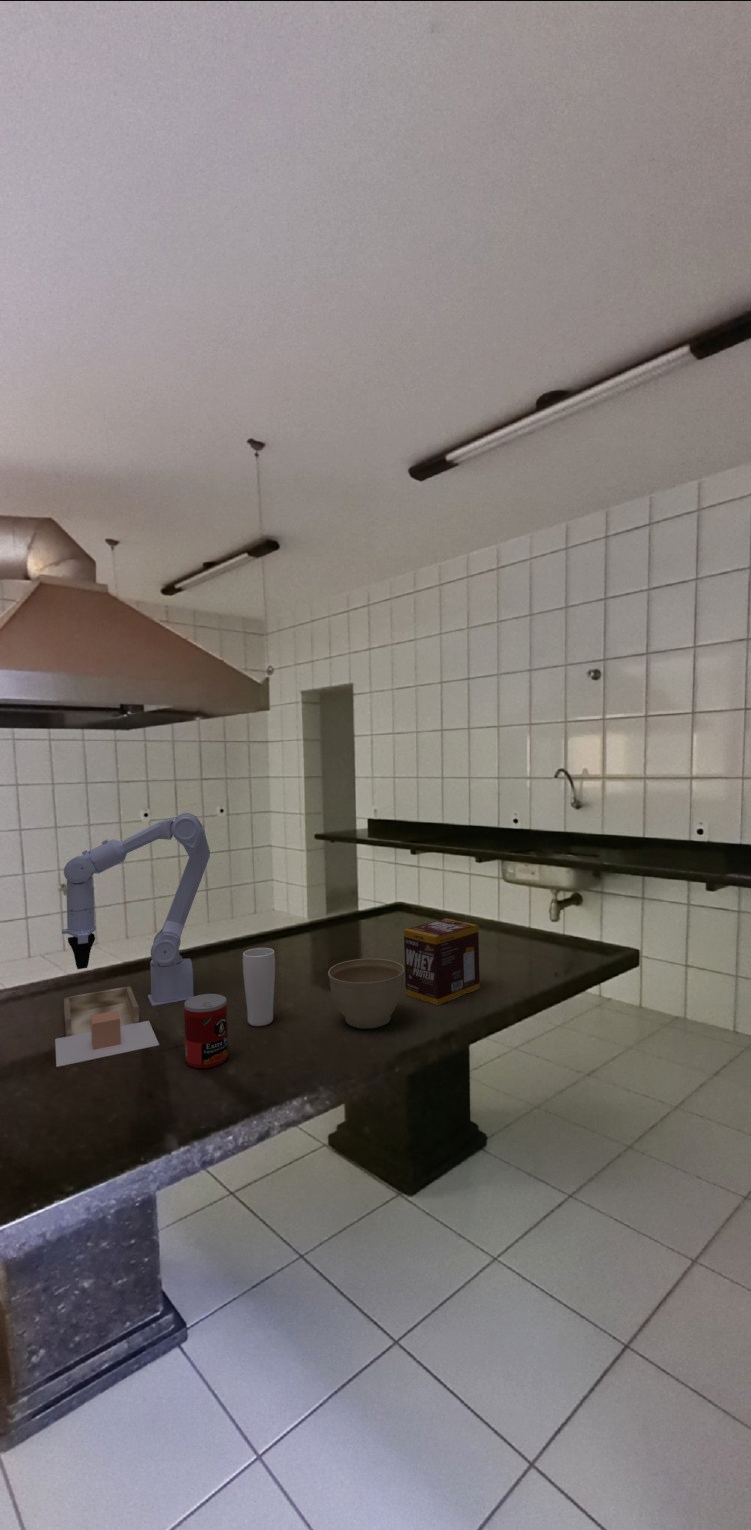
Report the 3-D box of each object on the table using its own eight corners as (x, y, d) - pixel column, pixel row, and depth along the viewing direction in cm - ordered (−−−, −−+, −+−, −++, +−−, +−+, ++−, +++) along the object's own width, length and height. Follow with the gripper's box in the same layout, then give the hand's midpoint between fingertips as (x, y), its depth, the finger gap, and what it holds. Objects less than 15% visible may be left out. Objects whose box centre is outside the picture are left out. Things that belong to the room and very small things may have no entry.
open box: (130, 1003, 150) (130, 986, 150) (139, 1025, 137) (138, 1006, 137) (64, 1015, 144) (63, 997, 144) (66, 1039, 131) (65, 1020, 131)
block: (118, 1035, 131) (117, 1010, 131) (120, 1044, 126) (120, 1018, 126) (91, 1040, 129) (90, 1015, 129) (93, 1050, 124) (92, 1024, 124)
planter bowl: (355, 1002, 147) (353, 954, 147) (418, 1014, 139) (417, 963, 139) (314, 1027, 133) (313, 975, 134) (382, 1042, 125) (380, 986, 125)
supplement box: (404, 995, 151) (402, 929, 151) (448, 979, 161) (446, 917, 161) (437, 1007, 143) (435, 936, 143) (480, 989, 154) (479, 924, 154)
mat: (148, 1023, 138) (148, 1020, 138) (159, 1048, 126) (159, 1045, 126) (55, 1042, 130) (55, 1039, 130) (56, 1070, 117) (56, 1067, 117)
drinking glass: (249, 1031, 132) (247, 958, 132) (240, 1020, 138) (238, 950, 139) (281, 1024, 136) (279, 953, 136) (270, 1014, 142) (269, 945, 142)
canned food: (206, 1073, 115) (205, 1011, 115) (176, 1063, 119) (174, 1004, 119) (237, 1056, 121) (235, 998, 121) (207, 1047, 125) (205, 991, 125)
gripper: (60, 905, 152) (62, 962, 152) (62, 917, 139) (63, 980, 139) (93, 901, 156) (94, 958, 155) (97, 913, 143) (99, 974, 143)
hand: (82, 968), depth 148 cm, fingers closed
